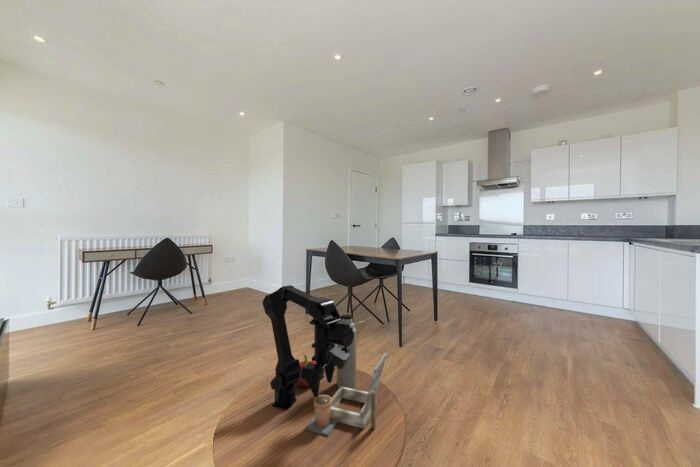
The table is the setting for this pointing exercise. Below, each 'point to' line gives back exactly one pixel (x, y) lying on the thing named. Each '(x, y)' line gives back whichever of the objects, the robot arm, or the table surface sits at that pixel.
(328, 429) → the pad
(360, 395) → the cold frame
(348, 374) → the thermos bottle
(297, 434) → the table surface
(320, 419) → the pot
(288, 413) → the table surface
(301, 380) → the vegetable
